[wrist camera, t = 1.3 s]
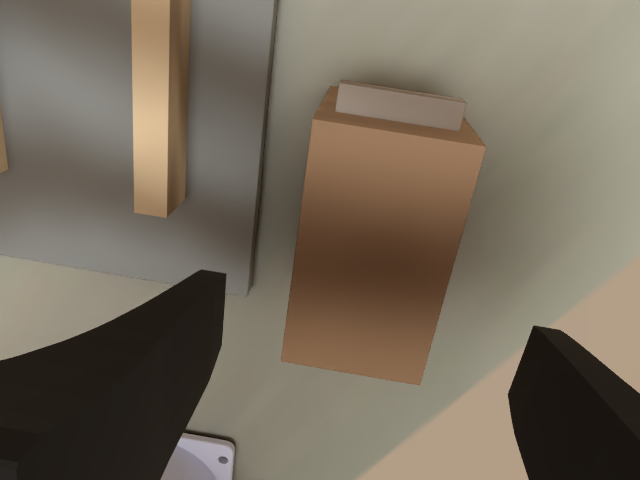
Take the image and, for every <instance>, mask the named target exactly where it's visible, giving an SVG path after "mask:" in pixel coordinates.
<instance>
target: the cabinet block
mask: <svg viewBox="0 0 640 480" xmlns="http://www.w3.org/2000/svg"><path fill="white" fill-rule="evenodd" d="M465 107H466V102H465V101H464V100H463V99H460V98H453V97H447V96H441V95H434V94H428V93H422V92H415V91H409V90H402V89H396V88H390V87H383V86H377V85H371V84H364V83H358V82H352V81H345V80H341V81H340V83H339V87H332V86H330V88H329V90H328V91H327V93H326V95H325V97H324V99H323V101H322V103H321V104H320V106H319V108H318V110H317V112H316V114H315V116H314V118H313V120H312V128H311V136H310V143H309V151H308V158H307V166H306V174H305V181H304V189H303V196H302V204H301V212H300V219H299V227H298V234H297V242H296V250H295V257H294V265H293V272H292V280H291V288H290V295H289V303H288V310H287V318H286V326H285V333H284V341H283V349H282V356H281V361H282V362H288V363H294V364H300V365H305V366H311V367H317V368H323V369H328V370H334V371H340V372H346V373H351V374H357V375H363V376H368V377H374V378H380V379H386V380H391V381H397V382H403V383H409V384H414V385H420V383H421V379H422V376H423V372H424V369H425V365H426V362H427V358H428V354H429V351H430V347H431V344H432V340H433V336H434V333H435V329H436V326H437V322H438V318H439V315H440V311H441V308H442V304H443V300H444V297H445V293H446V290H447V286H448V283H449V279H450V275H451V272H452V268H453V265H454V261H455V257H456V254H457V250H458V247H459V243H460V239H461V236H462V232H463V229H464V225H465V222H466V218H467V214H468V211H469V207H470V204H471V200H472V196H473V193H474V189H475V186H476V182H477V178H478V175H479V171H480V168H481V164H482V160H483V157H484V153H485V150H486V146H485V144H484V143H483V142H482V140H481V139H480V138H479V137H478V135H477V134H476V133H475V131H474V130H473V129H472V127H471V126H470V125H469V123H468V122H467V121H466V119H465V118H464V117H463V115H464V111H465Z"/></svg>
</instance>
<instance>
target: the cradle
mask: <svg viewBox="0 0 640 480" xmlns="http://www.w3.org/2000/svg"><path fill="white" fill-rule="evenodd" d="M277 7H278V0H0V255H3V256H9V257H15V258H21V259H27V260H33V261H39V262H44V263H50V264H56V265H62V266H68V267H74V268H80V269H85V270H91V271H97V272H103V273H109V274H115V275H121V276H126V277H132V278H138V279H144V280H150V281H156V282H162V283H167V284H173V285H176V284H178V283H179V282H181V281H182V280H184V279H186V278H187V277H189V276H190V275H192V274H194V273H195V272H197V271H199V270H201V269H203V270H209V271H215V272H221V273H226V274H227V276H226V290H225V293H226V294H232V295H238V296H244V297H247V296H248V294H249V291H250V289H251V283H252V273H253V262H254V251H255V241H256V230H257V219H258V209H259V198H260V188H261V177H262V166H263V156H264V145H265V135H266V124H267V113H268V103H269V92H270V81H271V71H272V60H273V50H274V39H275V28H276V18H277Z"/></svg>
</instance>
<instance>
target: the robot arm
mask: <svg viewBox="0 0 640 480" xmlns="http://www.w3.org/2000/svg"><path fill="white" fill-rule="evenodd" d="M226 276H227V274H226V273H221V272H215V271H209V270H203V269H201V270H199V271H197V272H195V273H194V274H192V275H190V276H189V277H187V278H186V279H184V280H182V281H181V282H179V283H178V284H176V285H174V286H173V287H171V288H170V289H168V290H166V291H165V292H163V293H161V294H159V295H158V296H156V297H154V298H153V299H151V300H149V301H148V302H146V303H144V304H142V305H140V306H138V307H137V308H135V309H133V310H131V311H129V312H127V313H125V314H123V315H121V316H119V317H118V318H116V319H114V320H112V321H110V322H108V323H105V324H103V325H101V326H99V327H97V328H94V329H92V330H90V331H87V332H85V333H82V334H80V335H78V336H75V337H73V338H70V339H67V340H65V341H62V342H59V343H56V344H53V345H50V346H47V347H44V348H41V349H38V350H35V351H32V352H29V353H26V354H23V355H20V356H16V357H13V358H9V359H5V360H1V361H0V480H232V477H233V466H234V455H235V446H234V445H233V444H232V443H231V442H229V441H226V440H221V439H215V438H209V437H204V436H198V435H193V434H187V433H183V432H184V430H185V428H186V426H187V424H188V422H189V420H190V418H191V416H192V414H193V412H194V410H195V408H196V406H197V404H198V402H199V400H200V398H201V396H202V394H203V392H204V390H205V388H206V386H207V384H208V382H209V380H210V377H211V374H212V372H213V369H214V366H215V363H216V360H217V357H218V354H219V351H220V348H221V345H222V333H223V319H224V304H225V290H226ZM508 398H509V405H510V412H511V418H512V423H513V428H514V434H515V437H516V441H517V444H518V447H519V450H520V453H521V457H522V459H523V463H524V466H525V469H526V472H527V475H528V478H529V480H640V393H638V392H637V391H636V390H635V389H633V388H632V387H631V386H630V385H628V384H627V383H626V382H624V381H623V380H622V379H621V378H619V376H617V375H616V374H615V373H614V372H613V371H611V370H610V369H609V368H608V367H607V366H605V365H604V364H603V363H602V362H601V361H599V360H598V359H597V358H596V357H594V356H593V355H592V354H591V353H590V352H589V351H587V350H586V349H585V348H584V347H582V346H581V345H580V344H579V343H577V342H576V341H575V340H573V339H572V338H571V337H570V336H568V335H567V334H565V333H564V332H562V331H561V330H556V329H551V328H545V327H539V326H533V328H532V331H531V334H530V337H529V339H528V342H527V345H526V347H525V350H524V353H523V355H522V358H521V361H520V364H519V366H518V369H517V371H516V374H515V377H514V379H513V382H512V385H511V387H510V390H509V393H508ZM222 456H224V457H226V458H224V457H222Z"/></svg>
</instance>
